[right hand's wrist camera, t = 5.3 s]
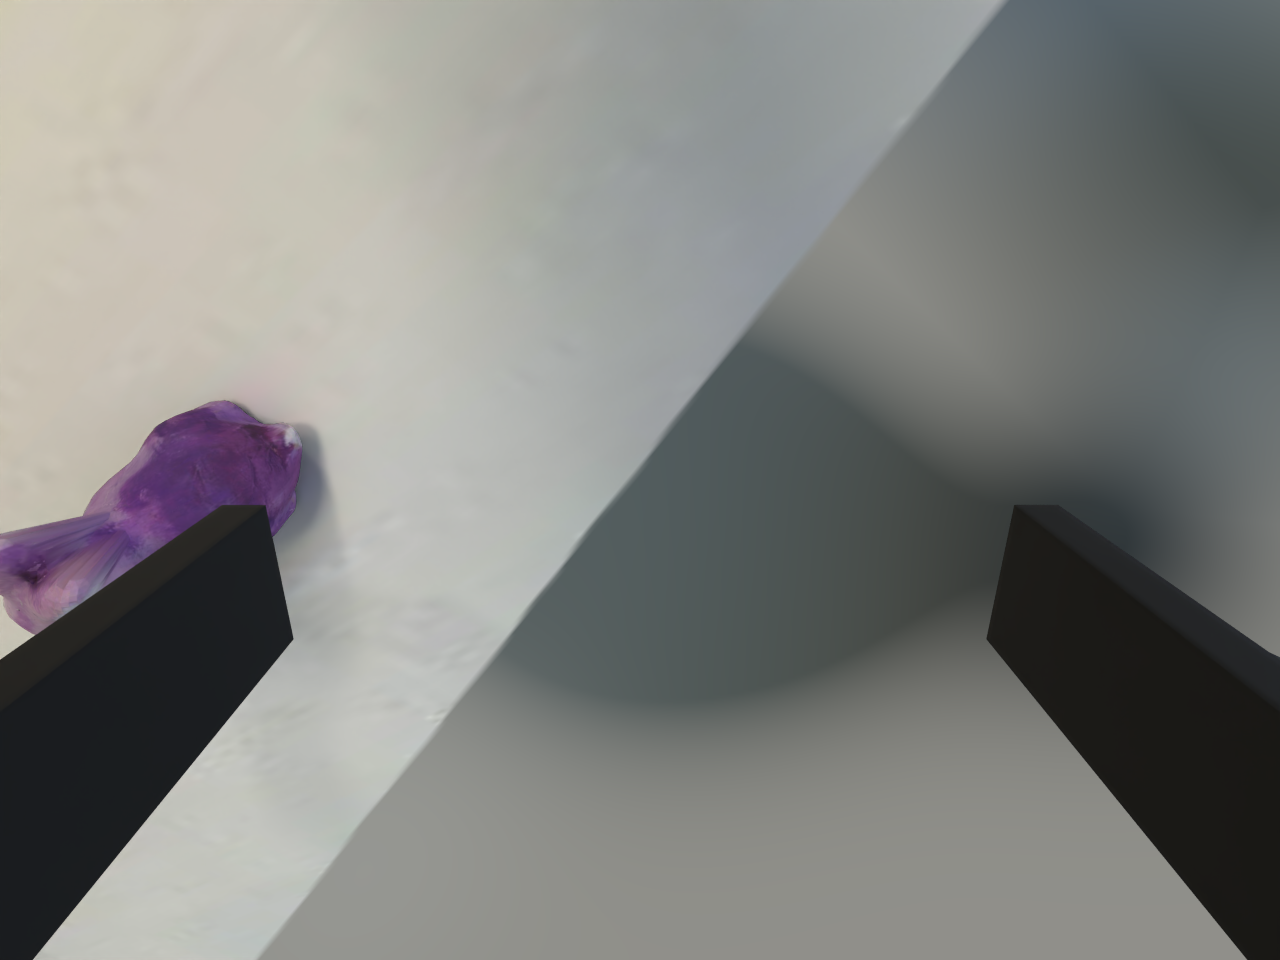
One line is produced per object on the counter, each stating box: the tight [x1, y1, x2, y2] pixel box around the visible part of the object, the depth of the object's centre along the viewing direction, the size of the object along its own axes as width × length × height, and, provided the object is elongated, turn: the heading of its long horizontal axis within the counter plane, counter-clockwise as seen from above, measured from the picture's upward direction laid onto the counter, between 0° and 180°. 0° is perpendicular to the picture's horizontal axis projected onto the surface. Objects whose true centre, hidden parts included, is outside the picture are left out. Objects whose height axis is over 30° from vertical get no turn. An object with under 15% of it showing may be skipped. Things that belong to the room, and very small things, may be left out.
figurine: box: [0, 401, 302, 635], centre depth 35 cm, size 9×10×15 cm
